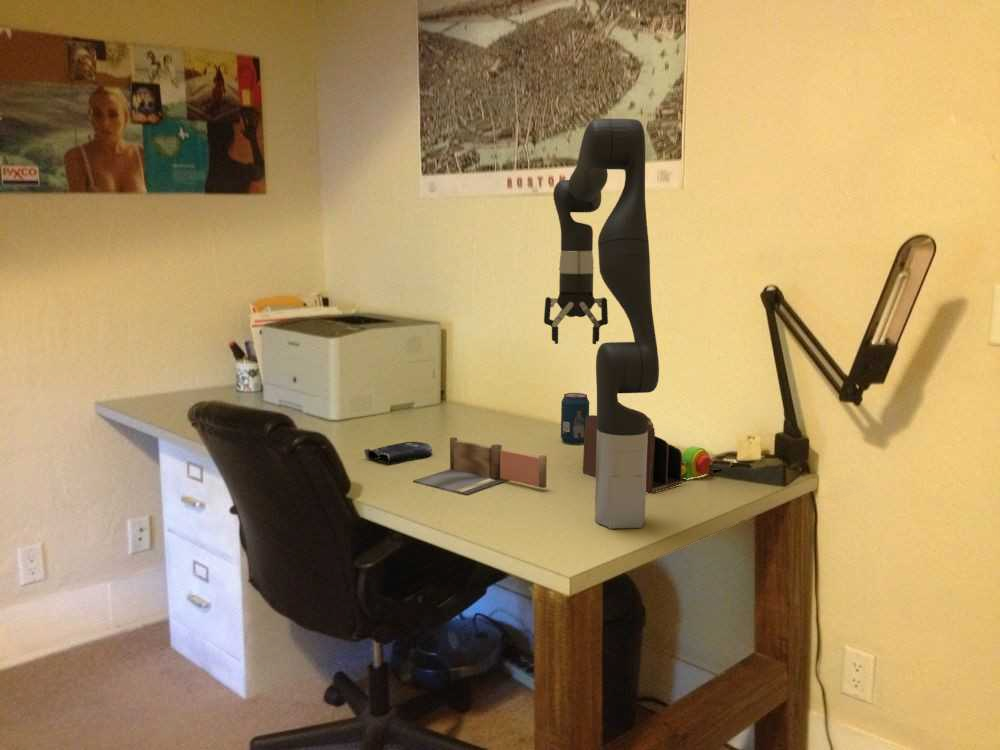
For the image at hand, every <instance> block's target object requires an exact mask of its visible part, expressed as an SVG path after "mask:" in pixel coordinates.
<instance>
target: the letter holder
mask: <svg viewBox="0 0 1000 750" xmlns="http://www.w3.org/2000/svg"><path fill="white" fill-rule="evenodd" d="M655 435H656V433H655V434H654V432H653V431H652V430H651V429H649V428H648V443H647V472H646V492H648V493H647V494H649V493H652V492H655V493H657V492H656V491H659V490H663V489H666V488H670V487H673V486H676V485H679V484H681V485H682V480H683V479H682V453H683V452H682V451H681V450H680V449H679V448H678V447H676V446H674V445H672V444H669V443H668V442H667V441H666V440H664V439H663V438H661V437H658V436H657V435H656V436H655ZM596 445H597V414H596V415H594V414H591V415H590V414H589V416H587V417H586V420H585V437H584V444H583V455H582V456H583V458H582V473H584V474H583V475H587V474H588V475H587V476H590V475H591V477H594V478H596ZM670 489H671V488H670ZM666 490H667V489H666ZM663 491H664V490H663ZM659 492H660V491H659ZM652 494H653V493H652Z"/></svg>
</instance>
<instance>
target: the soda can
mask: <svg viewBox="0 0 1000 750" xmlns="http://www.w3.org/2000/svg"><path fill="white" fill-rule="evenodd" d="M560 404H561V405H560V407H561V408H560V409H561V412H560V414H561V415H560V421H561V422H560V437H561V439H562V442H563V443H564V444H567V445H574V444H578V445H584V444H583V443H584V437H585V420H586V417H587V416H590V401H589V399H588V394H586V393H582V392H581V393H580V392H567V393H564V394H563V397H562V399H561V403H560Z"/></svg>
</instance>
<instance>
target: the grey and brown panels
mask: <svg viewBox="0 0 1000 750" xmlns="http://www.w3.org/2000/svg"><path fill="white" fill-rule="evenodd" d="M502 448H503V446H502V444H498V443H497V444H491V446H489V445H484V444H479V443H473V442H469V441H465V440H459V439H458V438H457V437H450V438H449V469H447V470H444V471H440V472H437V473H434V474H430V475H426V476H423V477H421V478H417V479H413V483H416V484H420V485H425V486H429V487H433V488H436V489H440V490H445V491H449V492H452V493H455V494H458V495H459V494H461V495H464V496H469V495H471V494H472V495H473V494H475V493H477V492H478V493H479V492H480V491H484V490H486V489H488V488H489V489H490V488H492V487H494V486H497V485H501V484H503V483H506V482H509V481H510V480H507V479H502V478H500V450H503V449H502Z"/></svg>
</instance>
